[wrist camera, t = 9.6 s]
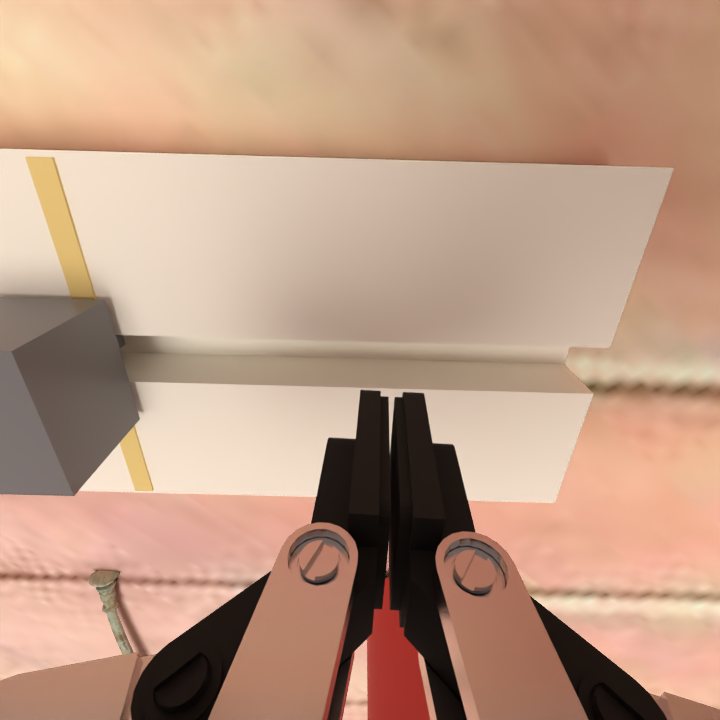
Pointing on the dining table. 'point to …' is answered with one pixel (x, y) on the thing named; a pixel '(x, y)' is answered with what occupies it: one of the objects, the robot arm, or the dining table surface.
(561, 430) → the slider console
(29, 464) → the fader knob
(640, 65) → the dining table surface
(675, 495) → the dining table surface
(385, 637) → the beer can
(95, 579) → the soupspoon
